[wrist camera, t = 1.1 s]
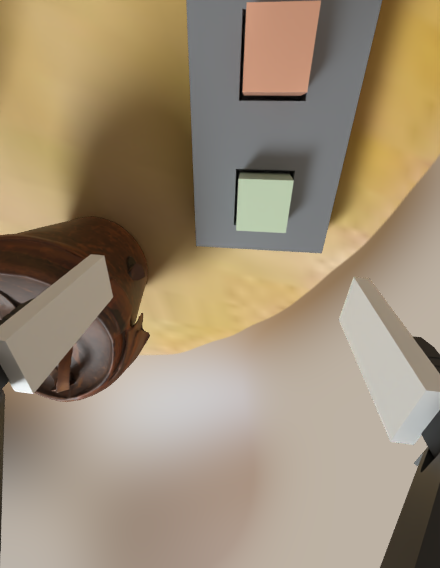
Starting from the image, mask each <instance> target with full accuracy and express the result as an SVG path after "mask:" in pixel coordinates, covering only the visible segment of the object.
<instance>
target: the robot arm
mask: <svg viewBox="0 0 440 568" xmlns="http://www.w3.org/2000/svg"><path fill="white" fill-rule="evenodd" d="M112 298H113V294H112V289H111V285H110V280H109V275H108V271H107V266H106V261H105V257H104V255H93V254H91V255H89V256H88V257H87V258H85V259H84V260H83V261H82V262H80V263H79V264H78V265H77V266H75V267H74V268H73V269H71V270H70V271H69V272H68V273H66V274H65V275H64V276H63V277H61V278H60V279H59V280H58V281H56V282H55V283H54V284H52V285H51V286H50V287H49V288H47V289H46V290H45V291H44V292H42V293H41V294H40V295H38V296H37V297H36V298H35V299H34V298H33V299H30V300H28V301H26V302H24V303H22V304H20V305H19V306H17V307H16V308H15V309H13V310H12V311H11V312H10V314H7V315H6V316H4V317H3V318H2V320H0V551H1V514H2V513H1V512H2V479H3V442H4V407H5V405H4V403H5V394H4V391H3V390H2V388H3V387H4V386H5V385H6V384H7V383H8V382H10V383H11V386H12V387H13V389H14V391H16V392H23V393H31V394H34V393H35V391H36V390H37V389H38V388H39V387H40V385H41V384H42V383H43V382H44V380H45V379H46V378H47V377H48V376H49V374H50V373H51V372H52V371H53V370H54V368H55V367H56V366H57V365H58V364H59V362H60V361H61V360H62V359H63V357H64V356H65V355H66V354H67V353H68V351H69V350H70V349H71V348H72V347H73V345H74V344H75V343H76V342H77V341H78V339H79V338H80V337H81V336H82V334H83V333H84V332H85V331H86V330H87V328H88V327H89V326H90V325H91V324H92V322H93V321H94V320H95V319H96V317H97V316H98V315H99V314H100V313H101V311H102V310H103V309H104V308H105V307H106V305H107V304H108V303H109V302H110V301H111V299H112ZM339 322H340V324H341V326H342V329H343V331H344V333H345V336H346V338H347V340H348V343H349V345H350V348H351V350H352V352H353V355H354V357H355V359H356V362H357V364H358V366H359V369H360V371H361V374H362V376H363V378H364V381H365V383H366V385H367V388H368V390H369V392H370V395H371V397H372V400H373V402H374V404H375V407H376V409H377V411H378V414H379V416H380V418H381V421H382V423H383V425H384V428H385V430H386V433H387V435H388V437H389V440H390V442H396V443H404V444H412V445H414V444H415V443H416V441H417V440H418V439H419V438H420V436H421V435H422V436H423V438H424V440H425V442H426V443H427V445H428V447H427V449H426V450H425V451H424V452H423V453H422V454H421V455H420V457H419V458H418V459H417V460H416V461H415V462H414V464H415V465H417V466H418V468H417V471H416V474H415V476H414V479H413V482H412V484H411V487H410V489H409V492H408V495H407V497H406V500H405V503H404V505H403V508H402V511H401V513H400V516H399V519H398V521H397V524H396V527H395V529H394V532H393V535H392V537H391V540H390V543H389V545H388V548H387V551H386V553H385V556H384V559H383V561H382V564H381V567H380V568H440V354H439V353H438V352H437V351H436V349H435V348H434V347H433V346H432V345H430V344H429V343H428V342H426V341H425V340H424V339H422V338H421V337H412V336H411V334H410V333H409V331H408V330H407V329H406V327H405V326H404V325H403V323H402V322H401V321H400V319H399V318H398V316H397V315H396V314H395V313H394V311H393V310H392V308H391V307H390V306H389V305H388V303H387V302H386V300H385V299H384V298H383V296H382V295H381V293H380V292H379V291H378V289H377V288H376V287H375V285H374V284H373V283H372V281H371V280H370V279H369V278H358V277H354V278H353V281H352V283H351V286H350V289H349V292H348V295H347V298H346V300H345V303H344V306H343V309H342V312H341V315H340V318H339Z"/></svg>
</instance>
